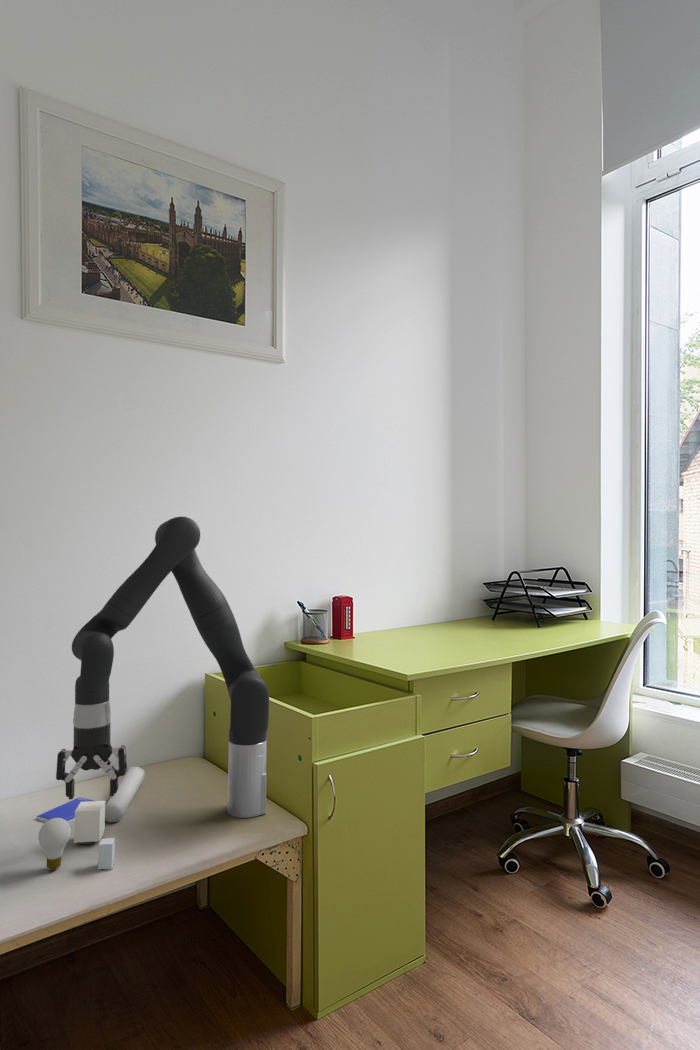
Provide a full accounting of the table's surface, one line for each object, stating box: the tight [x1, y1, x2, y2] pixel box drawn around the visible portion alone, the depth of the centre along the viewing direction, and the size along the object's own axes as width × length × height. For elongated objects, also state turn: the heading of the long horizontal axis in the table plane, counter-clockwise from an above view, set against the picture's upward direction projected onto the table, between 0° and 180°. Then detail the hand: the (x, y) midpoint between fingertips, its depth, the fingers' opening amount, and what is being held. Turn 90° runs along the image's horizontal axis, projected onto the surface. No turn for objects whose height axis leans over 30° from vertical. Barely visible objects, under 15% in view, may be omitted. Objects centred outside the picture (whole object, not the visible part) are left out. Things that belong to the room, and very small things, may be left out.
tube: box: [105, 766, 145, 823], centre depth 163 cm, size 5×5×25 cm
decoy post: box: [97, 837, 116, 870], centre depth 131 cm, size 3×3×5 cm
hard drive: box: [36, 796, 95, 824], centre depth 156 cm, size 2×8×12 cm
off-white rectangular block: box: [73, 800, 106, 844], centre depth 142 cm, size 5×5×7 cm
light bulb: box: [37, 818, 72, 871], centre depth 129 cm, size 6×6×10 cm
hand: (92, 796), depth 142 cm, fingers open, 8 cm apart
